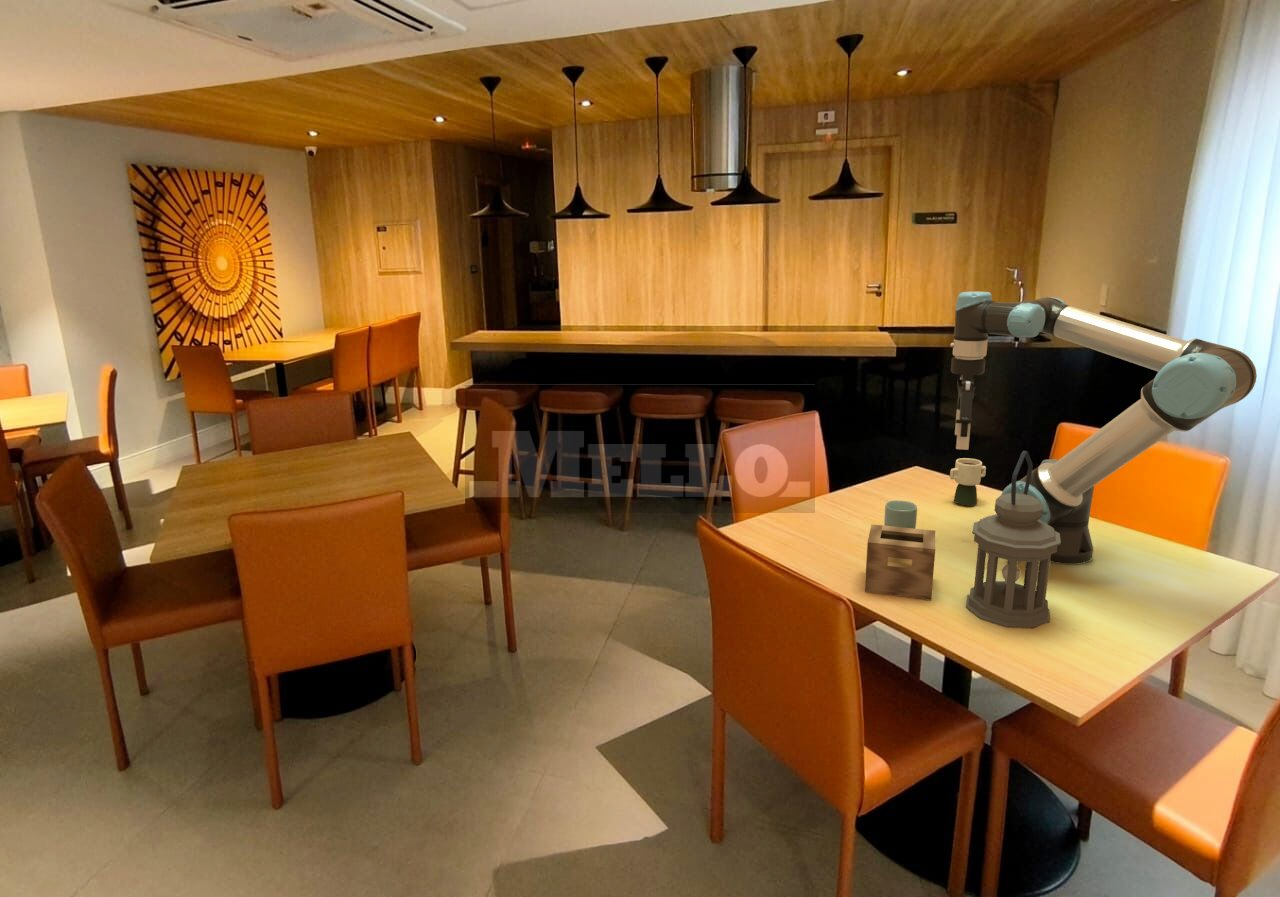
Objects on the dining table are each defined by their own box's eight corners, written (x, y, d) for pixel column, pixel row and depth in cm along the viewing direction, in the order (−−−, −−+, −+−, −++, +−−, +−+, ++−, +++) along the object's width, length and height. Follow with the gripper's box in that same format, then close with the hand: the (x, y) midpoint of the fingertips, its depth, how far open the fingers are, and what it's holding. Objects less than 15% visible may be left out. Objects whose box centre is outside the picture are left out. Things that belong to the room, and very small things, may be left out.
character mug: (975, 498, 224) (979, 456, 221) (989, 506, 217) (993, 463, 214) (941, 501, 223) (944, 459, 219) (954, 509, 216) (958, 466, 212)
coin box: (931, 578, 174) (935, 530, 171) (931, 600, 164) (935, 549, 161) (868, 571, 179) (871, 524, 176) (864, 591, 169) (867, 542, 166)
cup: (916, 548, 191) (919, 511, 188) (884, 546, 193) (887, 510, 190) (912, 536, 198) (915, 500, 196) (881, 535, 200) (883, 499, 197)
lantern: (973, 584, 171) (988, 436, 161) (1056, 602, 162) (1077, 446, 152) (955, 615, 158) (970, 455, 148) (1045, 637, 148) (1067, 468, 139)
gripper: (951, 348, 194) (944, 428, 200) (953, 365, 172) (945, 454, 177) (982, 349, 191) (975, 430, 197) (989, 366, 169) (980, 456, 175)
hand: (961, 441), depth 187 cm, fingers open, 13 cm apart
